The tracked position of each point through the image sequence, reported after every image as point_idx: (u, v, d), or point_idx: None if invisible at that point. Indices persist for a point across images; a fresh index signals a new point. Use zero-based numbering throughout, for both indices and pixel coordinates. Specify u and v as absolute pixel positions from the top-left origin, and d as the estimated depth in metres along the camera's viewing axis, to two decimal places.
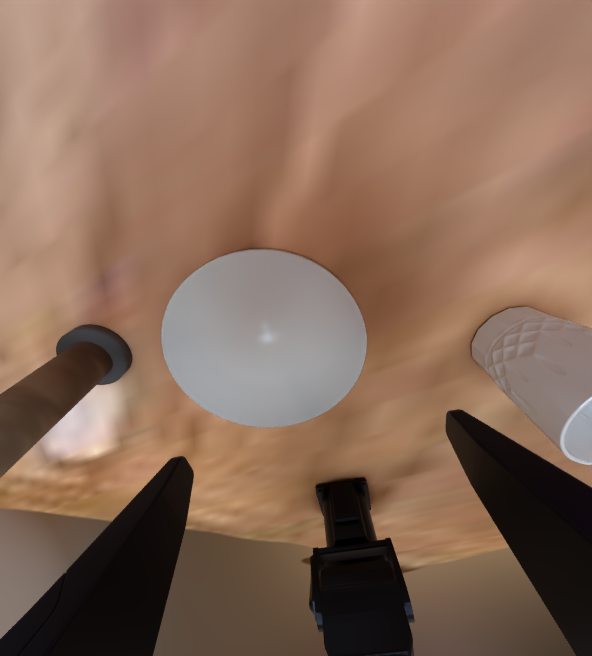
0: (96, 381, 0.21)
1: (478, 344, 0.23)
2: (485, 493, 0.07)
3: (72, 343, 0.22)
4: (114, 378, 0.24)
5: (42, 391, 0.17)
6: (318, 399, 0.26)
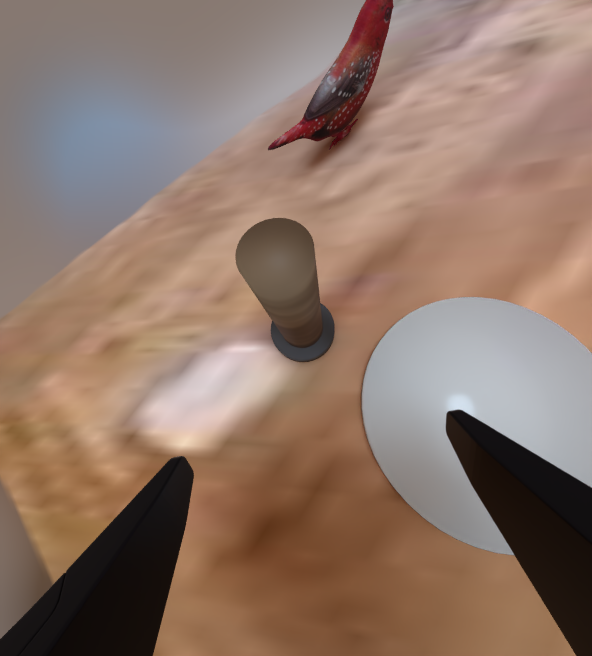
0: (313, 336, 0.20)
1: None
2: (485, 493, 0.07)
3: None
4: (306, 355, 0.22)
5: None
6: None
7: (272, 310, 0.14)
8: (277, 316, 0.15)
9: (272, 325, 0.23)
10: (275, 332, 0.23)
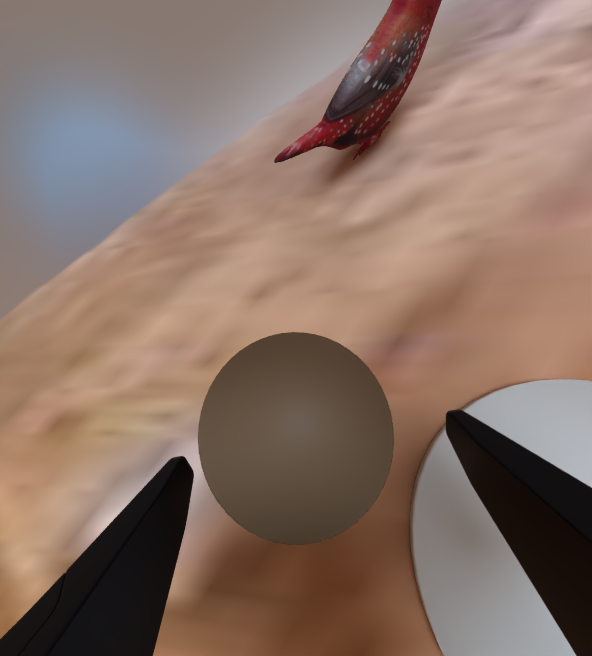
0: None
1: None
2: (485, 493, 0.07)
3: None
4: None
5: None
6: None
7: None
8: None
9: None
10: None
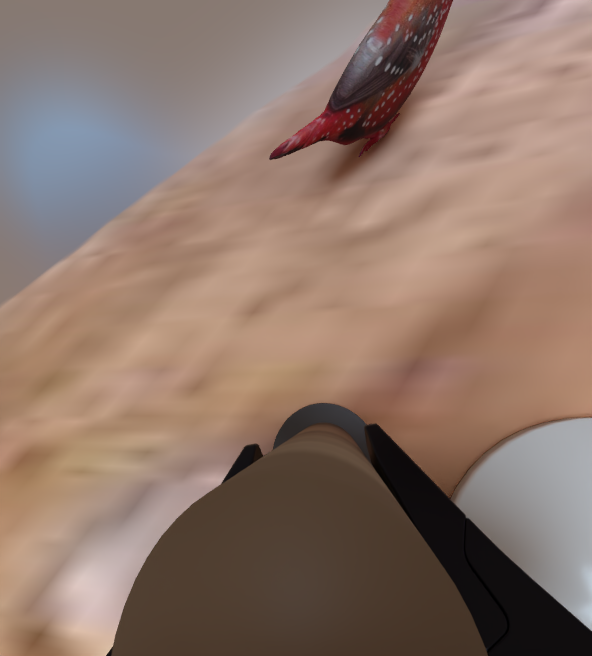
0: None
1: None
2: None
3: (321, 420, 0.14)
4: None
5: None
6: None
7: None
8: None
9: None
10: None
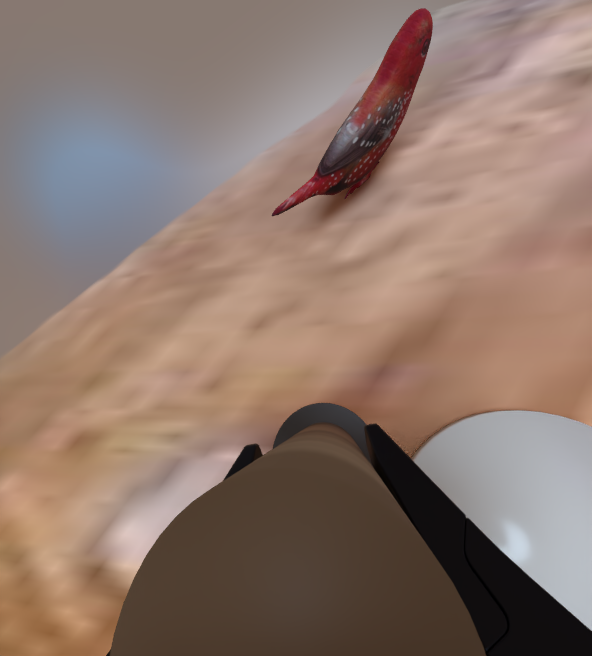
0: None
1: None
2: None
3: (320, 420, 0.14)
4: None
5: None
6: None
7: None
8: None
9: None
10: None
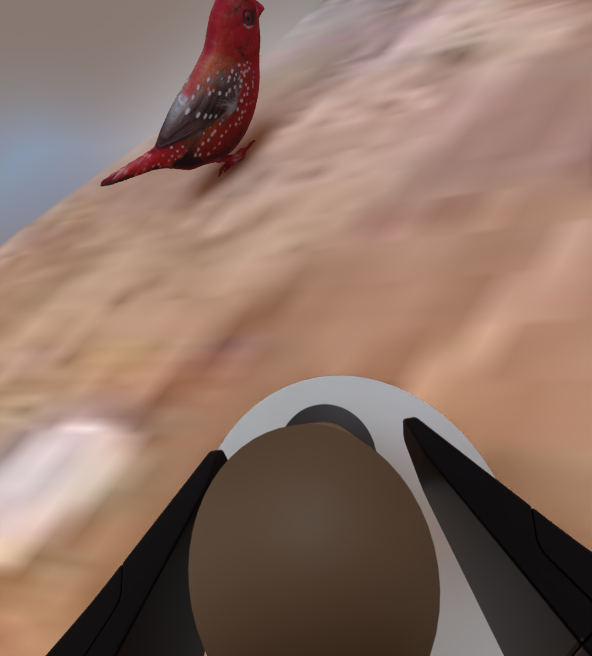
0: None
1: None
2: (433, 501, 0.07)
3: (322, 419, 0.15)
4: None
5: None
6: None
7: None
8: None
9: None
10: None
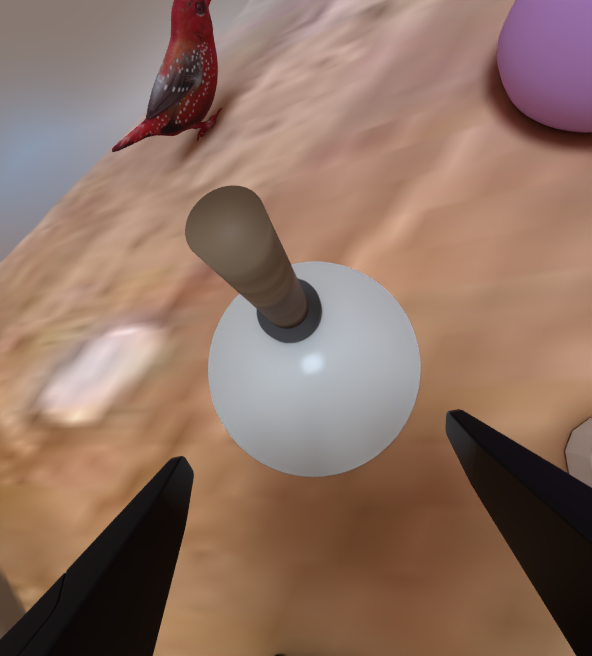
0: (297, 314, 0.20)
1: (576, 447, 0.17)
2: (485, 493, 0.07)
3: None
4: (294, 336, 0.22)
5: None
6: (341, 446, 0.20)
7: (238, 288, 0.14)
8: (247, 294, 0.14)
9: (257, 309, 0.23)
10: (261, 316, 0.23)
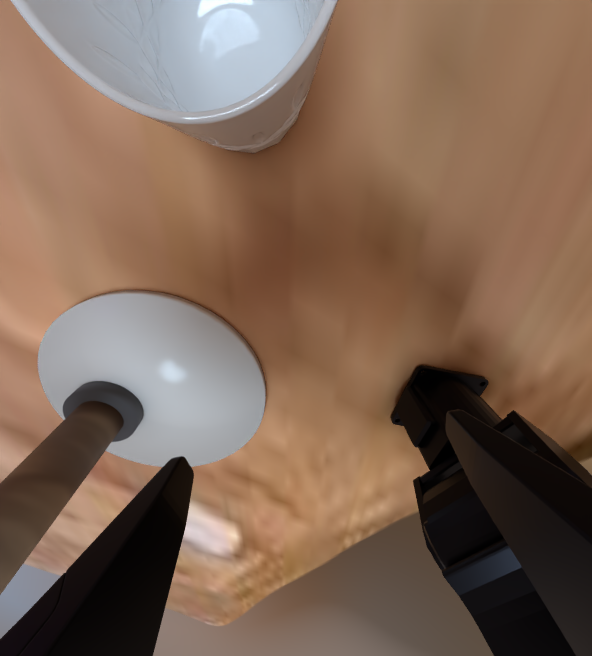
0: (94, 428, 0.19)
1: None
2: (485, 493, 0.07)
3: None
4: (129, 413, 0.21)
5: (13, 472, 0.15)
6: (237, 374, 0.21)
7: (27, 553, 0.14)
8: (41, 533, 0.14)
9: None
10: (114, 438, 0.22)
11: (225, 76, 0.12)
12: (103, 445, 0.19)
